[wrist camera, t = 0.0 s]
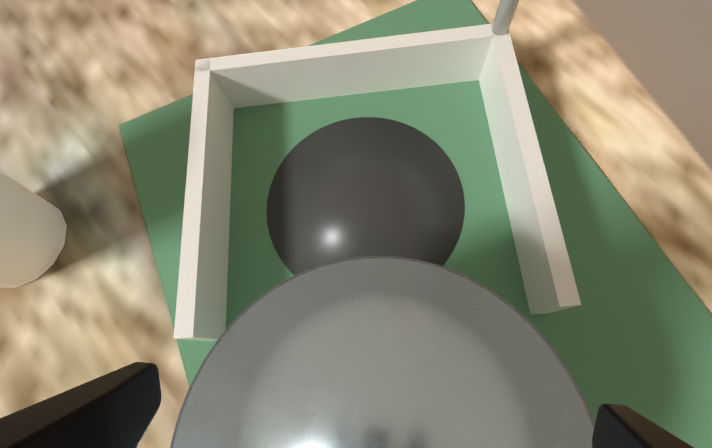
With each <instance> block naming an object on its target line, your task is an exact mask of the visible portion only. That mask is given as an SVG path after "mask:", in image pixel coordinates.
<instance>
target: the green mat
mask: <svg viewBox="0 0 712 448" xmlns="http://www.w3.org/2000/svg"><path fill="white" fill-rule="evenodd" d="M485 24H488V23H487V22H486V20H485V19H484V18H483V17H482V15H481V14H480V13H479V11H478V10H477V9H476V7H475V6H474V5H473V3H472V2H471V1H470V0H417V1H414V2H412V3H409V4H407V5H405V6H402V7H400V8H397V9H395V10H393V11H390V12H388V13H386V14H383V15H381V16H378V17H376V18H374V19H371V20H369V21H366V22H364V23H362V24H359V25H357V26H355V27H352V28H350V29H347V30H345V31H343V32H340V33H338V34H335V35H333V36H331V37H328V38H326V39H323V40H321V41H319V42H316V43H314V44H312V45H309V46H313V45H322V44H330V43H338V42H346V41H354V40H362V39H370V38H379V37H387V36H395V35H403V34H411V33H419V32H428V31H436V30H444V29H452V28H460V27H468V26H476V25H485ZM517 64H518V67H519V71H520V75H521V79H522V82H523V86H524V90H525V94H526V98H527V101H528V105H529V109H530V113H531V116H532V120H533V124H534V128H535V132H536V135H537V139H538V143H539V147H540V150H541V154H542V158H543V162H544V166H545V169H546V173H547V177H548V181H549V184H550V188H551V192H552V196H553V200H554V203H555V207H556V211H557V215H558V219H559V222H560V226H561V230H562V234H563V237H564V241H565V245H566V249H567V253H568V256H569V260H570V264H571V268H572V271H573V275H574V279H575V283H576V287H577V290H578V294H579V298H580V302H581V305H579V306H575V307H571V308H567V309H563V310H559V311H555V312H551V313H546V314H534V315H530V311H529V306H528V302H527V297H526V292H525V288H524V283H523V279H522V274H521V270H520V265H519V261H518V256H517V251H516V247H515V242H514V238H513V233H512V229H511V224H510V220H509V215H508V210H507V206H506V201H505V197H504V192H503V188H502V183H501V179H500V174H499V169H498V165H497V160H496V156H495V151H494V147H493V142H492V138H491V133H490V128H489V124H488V119H487V115H486V110H485V106H484V101H483V97H482V92H481V87H480V83H479V80H475V81H467V82H458V83H449V84H441V85H432V86H423V87H415V88H406V89H397V90H389V91H380V92H371V93H363V94H354V95H345V96H337V97H328V98H319V99H311V100H302V101H293V102H285V103H276V104H267V105H258V106H250V107H241V108H234V114H233V141H232V168H231V196H230V223H229V250H228V277H227V305H226V329H227V328H228V327H229V326H230V324H231V323H232V322H233V321H234V320H235V319H236V318H237V316H239V315H240V314H241V313H242V312H243V311H244V310H245V309H246V308H247V307H249V306H250V305H251V304H252V303H253V302H254V301H255V300H256V299H258V298H259V297H260V296H262V295H263V294H265V293H266V292H268V291H269V290H270V289H272V288H273V287H275V286H276V285H278V284H279V283H281V282H283V281H285V280H287V279H289V278H291V277H292V276H294V275H293V274H292V273H291V272H290V271H289V270H288V268H287V267H286V266H285V265H284V263H283V262H282V260H281V259H280V258H279V256H278V254H277V252H276V250H275V248H274V246H273V243H272V241H271V238H270V235H269V230H268V225H267V214H266V210H267V198H268V194H269V189H270V186H271V183H272V180H273V177H274V175H275V173H276V171H277V169H278V167H279V166H280V164H281V163H282V161H283V160H284V158H285V157H286V156H287V154H288V153H289V152H290V151H291V150H292V149H293V148H294V147H295V146H296V145H297V144H298V143H299V142H300V141H301V140H303V139H304V138H306V137H307V136H308V135H310V134H311V133H313V132H315V131H316V130H318V129H320V128H322V127H324V126H327V125H329V124H332V123H334V122H338V121H341V120H345V119H351V118H359V117H377V118H385V119H391V120H395V121H398V122H401V123H404V124H407V125H409V126H411V127H414V128H416V129H417V130H419V131H421V132H422V133H424V134H426V135H427V136H428V137H430V138H431V139H432V140H433V141H435V142H436V143H437V144H438V145H439V146H440V147H441V148H442V149H443V151H444V152H445V153H446V154H447V156H448V157H449V158H450V160H451V161H452V163H453V165H454V167H455V168H456V170H457V173H458V175H459V178H460V180H461V184H462V188H463V192H464V201H465V214H464V222H463V227H462V231H461V234H460V237H459V240H458V242H457V244H456V246H455V248H454V250H453V252H452V254H451V255H450V257H449V258H448V260H447V261H446V263H445V264H444V265H443V267H446V268H448V269H451V270H453V271H456V272H458V273H461V274H463V275H465V276H468V277H469V278H471V279H473V280H475V281H477V282H478V283H480V284H482V285H484V286H485V287H487V288H489V289H491V290H492V291H493V292H495V293H496V294H498V295H499V296H500V297H502V298H503V299H504V300H506V301H507V302H509V303H510V304H511V305H513V306H514V307H515V308H516V309H517V310H518V311H519V312H520V313H521V314H522V315H524V316H525V317H526V318H527V319H528V320H529V321H530V322H531V323H532V324H533V325H534V326H535V327H536V328H537V329H538V330H539V331H540V333H541V334H542V335H543V336H544V337H545V338H546V340H547V341H548V342H549V343H550V344H551V345H552V347H553V348H554V349H555V351H556V352H557V353H558V355H559V356H560V358H561V359H562V361H563V362H564V364H565V365H566V367H567V368H568V370H569V371H570V373H571V374H572V376H573V378H574V380H575V382H576V383H577V385H578V387H579V389H580V391H581V393H582V395H583V397H584V398H585V400H586V402H587V405H588V407H589V410H590V412H591V415H592V417H593V420H594V422H595V421H596V416H597V411H598V408H599V406H600V405H601V404H604V403H608V404H619V405H625V406H627V407H629V408H631V409H632V410H634V411H636V412H637V413H639V414H641V415H642V416H644V417H645V418H647V419H649V420H650V421H652V422H654V423H655V424H657V425H658V426H660V427H662V428H663V429H665V430H667V431H668V432H670V433H671V434H673V435H675V436H676V437H678V438H680V439H681V440H683V441H684V442H686V443H688V444H689V445H691V446H693V447H694V448H712V315H711V314H710V313H709V311H708V310H707V309H706V307H705V306H704V305H703V303H702V302H701V301H700V300H699V298H698V297H697V296H696V294H695V293H694V292H693V290H692V289H691V288H690V286H689V285H688V284H687V283H686V281H685V280H684V279H683V277H682V276H681V275H680V273H679V272H678V271H677V270H676V268H675V267H674V266H673V264H672V263H671V262H670V260H669V259H668V258H667V256H666V255H665V254H664V253H663V251H662V250H661V249H660V247H659V246H658V245H657V243H656V242H655V241H654V240H653V238H652V237H651V236H650V234H649V233H648V232H647V230H646V229H645V228H644V226H643V225H642V224H641V223H640V221H639V220H638V219H637V217H636V216H635V215H634V213H633V212H632V211H631V210H630V208H629V207H628V206H627V204H626V203H625V202H624V200H623V199H622V198H621V196H620V195H619V194H618V193H617V191H616V190H615V189H614V187H613V186H612V185H611V183H610V182H609V181H608V180H607V178H606V177H605V176H604V174H603V173H602V172H601V170H600V169H599V168H598V166H597V165H596V164H595V163H594V161H593V160H592V159H591V157H590V156H589V155H588V153H587V152H586V151H585V150H584V148H583V147H582V146H581V144H580V143H579V142H578V140H577V139H576V138H575V137H574V135H573V134H572V133H571V131H570V130H569V129H568V127H567V126H566V125H565V123H564V122H563V121H562V120H561V118H560V117H559V116H558V114H557V113H556V112H555V110H554V109H553V108H552V107H551V105H550V104H549V103H548V101H547V100H546V99H545V97H544V96H543V95H542V93H541V92H540V91H539V90H538V88H537V87H536V86H535V84H534V83H533V82H532V80H531V79H530V78H529V77H528V75H527V74H526V73H525V71H524V70H523V69H522V67H521V66H520V65H519V63H518V62H517ZM192 100H193V94H192V95H190V96H187V97H185V98H183V99H180V100H178V101H175V102H173V103H171V104H168V105H166V106H163V107H161V108H159V109H156V110H154V111H152V112H149V113H147V114H144V115H142V116H140V117H137V118H135V119H132V120H130V121H128V122H125V123H123V124H121V125H119V127H120V131H121V135H122V139H123V142H124V146H125V150H126V153H127V157H128V161H129V165H130V168H131V172H132V176H133V179H134V183H135V187H136V190H137V194H138V198H139V202H140V205H141V209H142V213H143V216H144V220H145V224H146V228H147V231H148V235H149V239H150V242H151V246H152V250H153V254H154V257H155V261H156V265H157V268H158V272H159V276H160V279H161V283H162V287H163V291H164V294H165V298H166V302H167V305H168V309H169V313H170V317H171V320H172V324H173V328H174V327H175V314H176V302H177V289H178V277H179V264H180V251H181V239H182V226H183V214H184V201H185V188H186V176H187V163H188V150H189V138H190V125H191V113H192ZM216 342H217V341H198V340H183V339H177V343H178V346H179V350H180V354H181V357H182V361H183V365H184V368H185V372H186V376H187V380H188V383H189V387H190V385H191V383H192V381H193V379H194V377H195V376H196V374H197V372H198V370H199V368H200V366H201V364H202V363H203V361H204V359H205V357H206V356H207V355H208V353H209V352H210V350H211V349H212V347H213V346H214V344H215V343H216Z"/></svg>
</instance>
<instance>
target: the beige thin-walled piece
mask: <svg viewBox="0 0 712 448" xmlns="http://www.w3.org/2000/svg"><path fill="white" fill-rule="evenodd" d="M518 2H519V0H500V3H499V6H498V10H497V13H496V16H495V19H494V22H493V24H485V25H476V26H468V27H460V28H452V29H444V30H436V31H428V32H419V33H411V34H403V35H395V36H387V37H379V38H370V39H362V40H354V41H346V42H338V43H330V44H322V45H313V46H305V47H297V48H289V49H281V50H273V51H265V52H256V53H248V54H240V55H232V56H224V57H216V58H208V59H199V60H196V62H195V75H194V87H193V100H192V113H191V125H190V138H189V150H188V163H187V176H186V188H185V201H184V214H183V226H182V239H181V251H180V264H179V277H178V289H177V302H176V314H175V327H174V339H183V340H198V341H217V340H218V339H219V337H220V336H221V335H222V334H223V332H224V331H225V330H226V305H227V277H228V250H229V223H230V196H231V168H232V141H233V114H234V108H241V107H250V106H258V105H267V104H276V103H285V102H293V101H302V100H311V99H319V98H328V97H337V96H345V95H354V94H363V93H371V92H380V91H389V90H397V89H406V88H415V87H423V86H432V85H441V84H449V83H458V82H467V81H475V80H479V83H480V87H481V92H482V97H483V101H484V106H485V110H486V115H487V119H488V124H489V128H490V133H491V138H492V142H493V147H494V151H495V156H496V160H497V165H498V169H499V174H500V179H501V183H502V188H503V192H504V197H505V201H506V206H507V210H508V215H509V220H510V224H511V229H512V233H513V238H514V242H515V247H516V251H517V256H518V261H519V265H520V270H521V274H522V279H523V283H524V288H525V292H526V297H527V302H528V306H529V311H530V315H534V314H546V313H551V312H555V311H559V310H563V309H567V308H571V307H575V306H579V305H581V302H580V298H579V294H578V290H577V287H576V283H575V279H574V275H573V271H572V268H571V264H570V260H569V256H568V253H567V249H566V245H565V241H564V237H563V234H562V230H561V226H560V222H559V219H558V215H557V211H556V207H555V203H554V200H553V196H552V192H551V188H550V184H549V181H548V177H547V173H546V169H545V166H544V162H543V158H542V154H541V150H540V147H539V143H538V139H537V135H536V132H535V128H534V124H533V120H532V116H531V113H530V109H529V105H528V101H527V98H526V94H525V90H524V86H523V82H522V79H521V75H520V71H519V67H518V64H517V60H516V56H515V52H514V48H513V45H512V41H511V37H510V33H509V30H508V29H509V27H510V24H511V21H512V19H513V16H514V13H515V10H516V8H517V5H518ZM266 214H267V225H268V230H269V235H270V238H271V241H272V243H273V246H274V248H275V250H276V252H277V254H278V256H279V258H280V259H281V260H282V262H283V263H284V265H285V266H286V267H287V268H288V270H289V271H290V272H291V273H292V274H293V275H296V274H298V273H300V272H303V271H305V270H308V269H311V268H313V267H316V266H318V265H321V264H325V263H329V262H333V261H337V260H341V259H345V258H354V257H363V256H397V257H404V258H411V259H418V260H422V261H426V262H429V263H433V264H437V265H440V266H443V265H444V264H445V263H446V261H447V260H448V258H449V257H450V255H451V254H452V252H453V250H454V248H455V246H456V244H457V242H458V240H459V237H460V234H461V231H462V227H463V222H464V214H465V201H464V192H463V188H462V184H461V180H460V178H459V175H458V173H457V170H456V168H455V167H454V165H453V163H452V161H451V160H450V158H449V157H448V156H447V154H446V153H445V152H444V151H443V149H442V148H441V147H440V146H439V145H438V144H437V143H436V142H435V141H433V140H432V139H431V138H430V137H428V136H427V135H426V134H424V133H422V132H421V131H419V130H417V129H416V128H414V127H411V126H409V125H407V124H404V123H401V122H398V121H395V120H391V119H385V118H377V117H359V118H351V119H345V120H341V121H338V122H334V123H332V124H329V125H327V126H324V127H322V128H320V129H318V130H316V131H315V132H313V133H311V134H310V135H308V136H307V137H306V138H304V139H303V140H301V141H300V142H299V143H298V144H297V145H296V146H295V147H294V148H293V149H292V150H291V151H290V152H289V153H288V154H287V156H286V157H285V158H284V160H283V161H282V163H281V164H280V166H279V167H278V169H277V171H276V173H275V175H274V177H273V180H272V183H271V186H270V189H269V194H268V198H267V210H266Z"/></svg>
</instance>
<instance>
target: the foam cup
mask: <svg viewBox="0 0 712 448" xmlns="http://www.w3.org/2000/svg"><path fill="white" fill-rule="evenodd" d="M66 229H67V225H66V223H65V220H64V218H63V215H62V213H61V210H59V209H58V208H56V207H55V206H53V205H52V204H50V203H49V202H47V201H46V200H44V199H43V198H41V197H40V196H38V195H37V194H35V193H34V192H32V191H30V190H29V189H27V188H26V187H24V186H23V185H21V184H19V183H18V182H16V181H15V180H13V179H11V178H10V177H8V176H7V175H5V174H4V173H2V172H0V287H4V288H6V287H13V288H16V287H18V286H21V285H24V284H26V283H29V282H32V281H34V280H36V279H37V278H39V277H40V276H41V275H42V274H43V273H44V272H46V271H47V270H48V269H49V268H50V267H51V266H52V265H54V263H55V261H56V259H57V257H58V256H59V254H60V252H61V250H62V249H63V247H64V245H65V237H66Z"/></svg>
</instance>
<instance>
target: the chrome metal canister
mask: <svg viewBox="0 0 712 448" xmlns="http://www.w3.org/2000/svg"><path fill="white" fill-rule="evenodd" d="M594 426H595V422H594V420H593V417H592V415H591V412H590V410H589V407H588V405H587V402H586V400H585V398H584V397H583V395H582V393H581V391H580V389H579V387H578V385H577V383H576V382H575V380H574V378H573V376H572V374H571V373H570V371H569V370H568V368H567V367H566V365H565V364H564V362H563V361H562V359H561V358H560V356H559V355H558V353H557V352H556V351H555V349H554V348H553V347H552V345H551V344H550V343H549V342H548V341H547V340H546V338H545V337H544V336H543V335H542V334H541V333H540V331H539V330H538V329H537V328H536V327H535V326H534V325H533V324H532V323H531V322H530V321H529V320H528V319H527V318H526V317H525V316H524V315H522V314H521V313H520V312H519V311H518V310H517V309H516V308H515V307H514V306H513V305H511V304H510V303H509V302H507V301H506V300H504V299H503V298H502V297H500V296H499V295H498V294H496V293H495V292H493V291H492V290H491V289H489V288H487V287H485V286H484V285H482V284H480V283H478V282H477V281H475V280H473V279H471V278H469V277H468V276H465V275H463V274H461V273H458V272H456V271H453V270H451V269H448V268H446V267H443V266H440V265H437V264H433V263H429V262H426V261H422V260H418V259H411V258H404V257H397V256H363V257H354V258H345V259H341V260H337V261H333V262H329V263H325V264H321V265H318V266H316V267H313V268H311V269H308V270H305V271H303V272H300V273H298V274H296V275H294V276H292V277H291V278H289V279H287V280H285V281H283V282H281V283H279V284H278V285H276V286H275V287H273V288H272V289H270V290H269V291H268V292H266V293H265V294H263V295H262V296H260V297H259V298H258V299H256V300H255V301H254V302H253V303H252V304H251V305H250V306H249V307H247V308H246V309H245V310H244V311H243V312H242V313H241V314H240V315H239V316H237V318H236V319H235V320H234V321H233V322H232V323H231V324H230V326H229V327H228V328H227V329H226V330H225V331H224V332H223V334H222V335H221V336H220V337H219V339H218V340H217V342H216V343H215V344H214V346H213V347H212V349H211V350H210V352H209V353H208V355H207V356H206V357H205V359H204V361H203V363H202V364H201V366H200V368H199V370H198V372H197V374H196V376H195V377H194V379H193V381H192V383H191V385H190V388H189V390H188V393H187V395H186V398H185V400H184V403H183V405H182V408H181V410H180V413H179V416H178V420H177V423H176V427H175V431H174V434H173V438H172V441H171V447H170V448H592V436H593V431H594Z"/></svg>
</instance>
